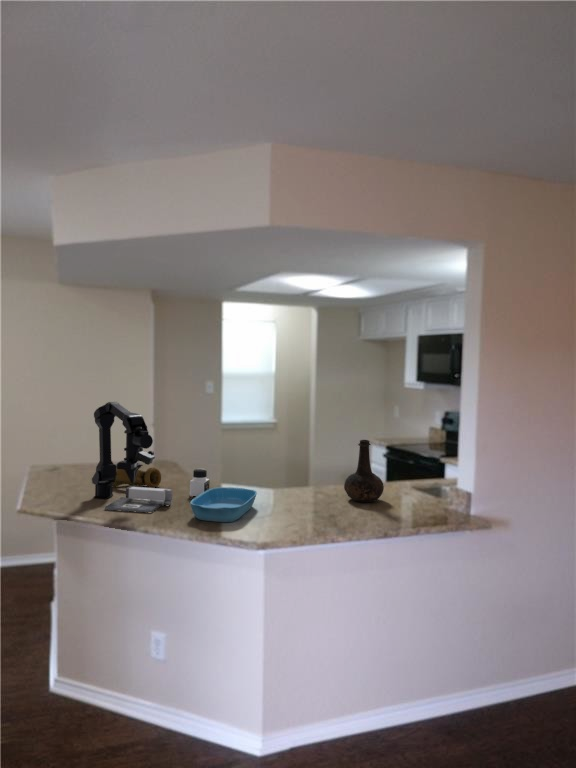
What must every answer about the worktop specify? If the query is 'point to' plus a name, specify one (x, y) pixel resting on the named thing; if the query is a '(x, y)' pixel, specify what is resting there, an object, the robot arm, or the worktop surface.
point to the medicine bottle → (199, 482)
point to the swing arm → (149, 493)
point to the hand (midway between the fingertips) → (132, 482)
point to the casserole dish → (223, 503)
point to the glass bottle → (364, 478)
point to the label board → (136, 504)
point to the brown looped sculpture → (139, 478)
